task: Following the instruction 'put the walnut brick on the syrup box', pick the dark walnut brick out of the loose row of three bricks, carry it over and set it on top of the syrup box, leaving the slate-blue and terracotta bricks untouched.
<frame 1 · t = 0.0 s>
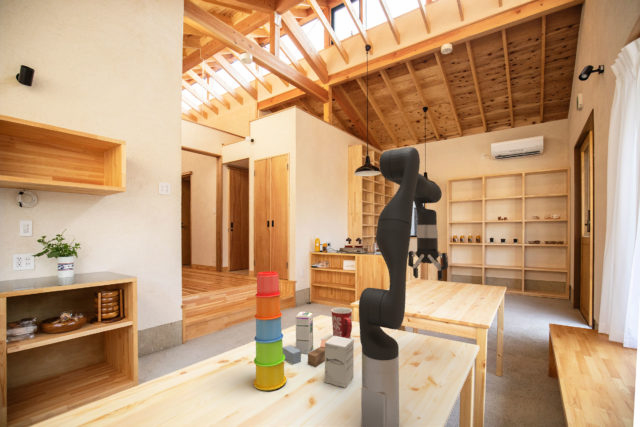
hand: (427, 279, 112), 29 cm above the table, fingers open, 8 cm apart
stacking cups: (270, 383, 92), on the table
walnut brick: (317, 362, 106), on the table
syrup box: (304, 351, 116), on the table
terracotta brick: (325, 353, 114), on the table
supplement box: (339, 380, 94), on the table
slate-blue brick: (291, 360, 108), on the table
mug: (343, 344, 123), on the table
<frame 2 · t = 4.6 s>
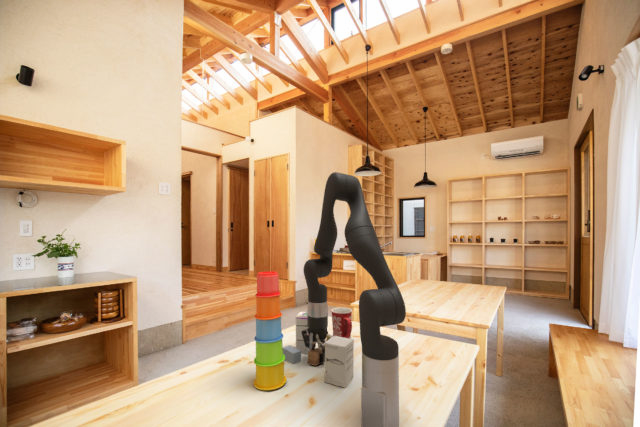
hand: (317, 361, 106), 0 cm above the table, fingers closed on walnut brick, 3 cm apart
walnut brick: (317, 361, 106), on the table, tilted 6°, touching gripper
everything else where it was.
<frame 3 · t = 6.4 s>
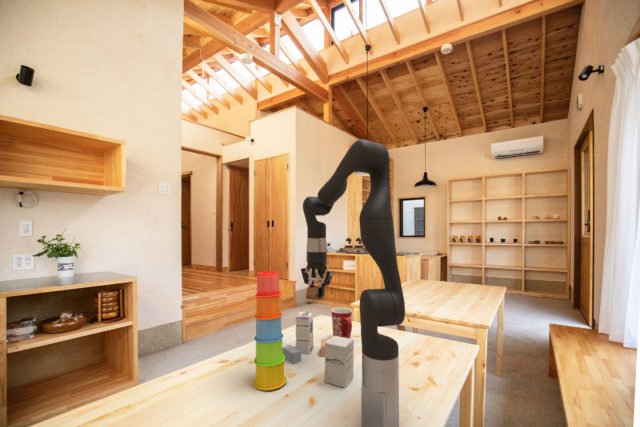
hand: (316, 296, 108), 23 cm above the table, fingers closed on walnut brick, 3 cm apart
walnut brick: (315, 299, 108), point 23 cm above the table, tilted 11°, touching gripper
everything else where it was.
when the fingers open (16 cm above the table, at t = 8.7 s): walnut brick stays where it is, resting on syrup box.
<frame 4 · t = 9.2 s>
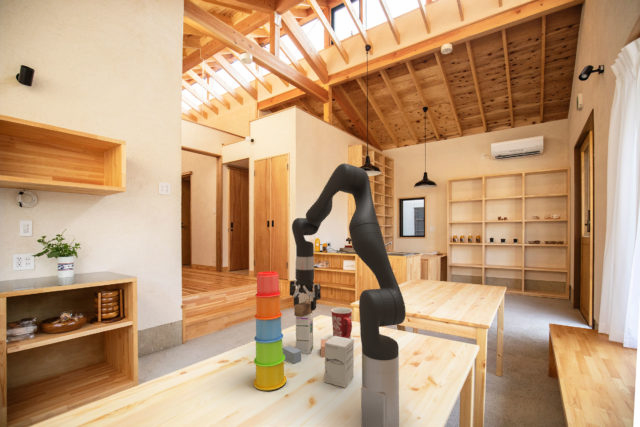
hand: (304, 308, 117), 17 cm above the table, fingers open, 8 cm apart
walnut brick: (303, 314, 116), point 14 cm above the table, touching syrup box
syrup box: (304, 351, 116), on the table, touching walnut brick
everything else where it was.
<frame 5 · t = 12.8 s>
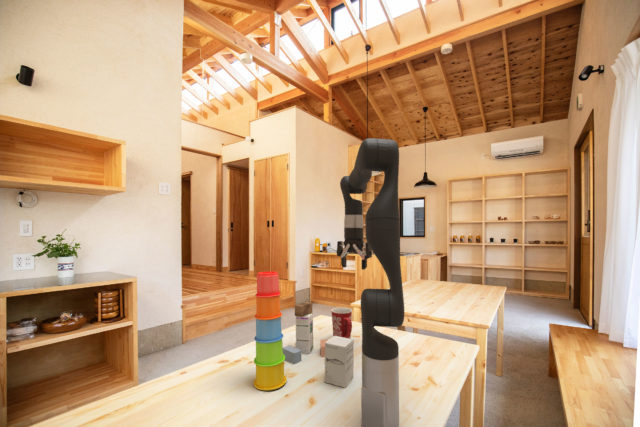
hand: (353, 268, 114), 33 cm above the table, fingers open, 8 cm apart
nothing on the table moved.
at the end: walnut brick 0.7 cm from the syrup box (horizontally); walnut brick point 14.5 cm above the table; slate-blue brick moved 0.2 cm from its start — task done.
